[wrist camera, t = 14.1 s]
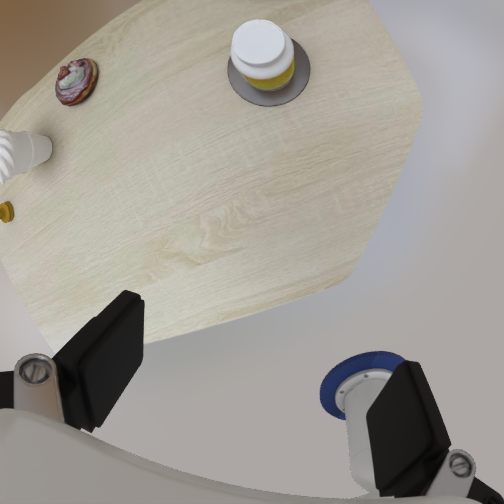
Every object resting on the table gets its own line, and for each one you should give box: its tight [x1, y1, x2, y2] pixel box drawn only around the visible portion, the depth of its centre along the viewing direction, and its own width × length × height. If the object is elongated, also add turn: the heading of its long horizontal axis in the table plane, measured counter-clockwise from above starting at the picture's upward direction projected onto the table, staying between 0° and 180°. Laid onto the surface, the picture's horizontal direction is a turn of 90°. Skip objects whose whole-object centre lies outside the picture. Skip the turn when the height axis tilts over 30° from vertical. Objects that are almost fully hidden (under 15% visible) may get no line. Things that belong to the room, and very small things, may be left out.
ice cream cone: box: [0, 128, 52, 184], centre depth 32 cm, size 8×8×16 cm
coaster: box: [228, 38, 310, 106], centre depth 32 cm, size 10×10×1 cm
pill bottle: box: [230, 19, 295, 91], centre depth 27 cm, size 6×6×11 cm
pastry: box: [55, 58, 98, 106], centre depth 33 cm, size 8×8×5 cm
